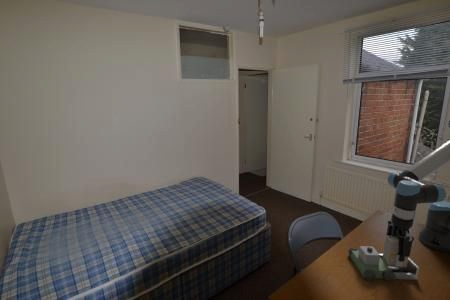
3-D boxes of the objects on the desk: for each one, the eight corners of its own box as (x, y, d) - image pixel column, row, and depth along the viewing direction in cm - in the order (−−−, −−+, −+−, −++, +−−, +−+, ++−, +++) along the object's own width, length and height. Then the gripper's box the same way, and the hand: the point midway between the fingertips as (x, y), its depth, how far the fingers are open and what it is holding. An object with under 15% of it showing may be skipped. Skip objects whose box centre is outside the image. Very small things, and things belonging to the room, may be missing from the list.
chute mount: (397, 258, 112) (399, 248, 111) (417, 279, 99) (419, 268, 98) (373, 258, 113) (375, 247, 111) (390, 278, 100) (392, 267, 99)
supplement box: (400, 261, 107) (405, 236, 104) (406, 268, 103) (411, 243, 99) (381, 259, 109) (385, 234, 106) (386, 266, 104) (390, 241, 101)
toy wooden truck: (373, 255, 114) (376, 238, 112) (394, 281, 99) (398, 261, 96) (347, 255, 115) (350, 237, 113) (364, 280, 100) (367, 260, 97)
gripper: (381, 205, 109) (374, 248, 114) (408, 227, 91) (398, 276, 97) (398, 205, 108) (390, 248, 114) (428, 227, 91) (417, 277, 96)
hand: (394, 261), depth 105 cm, fingers closed on supplement box, 5 cm apart
